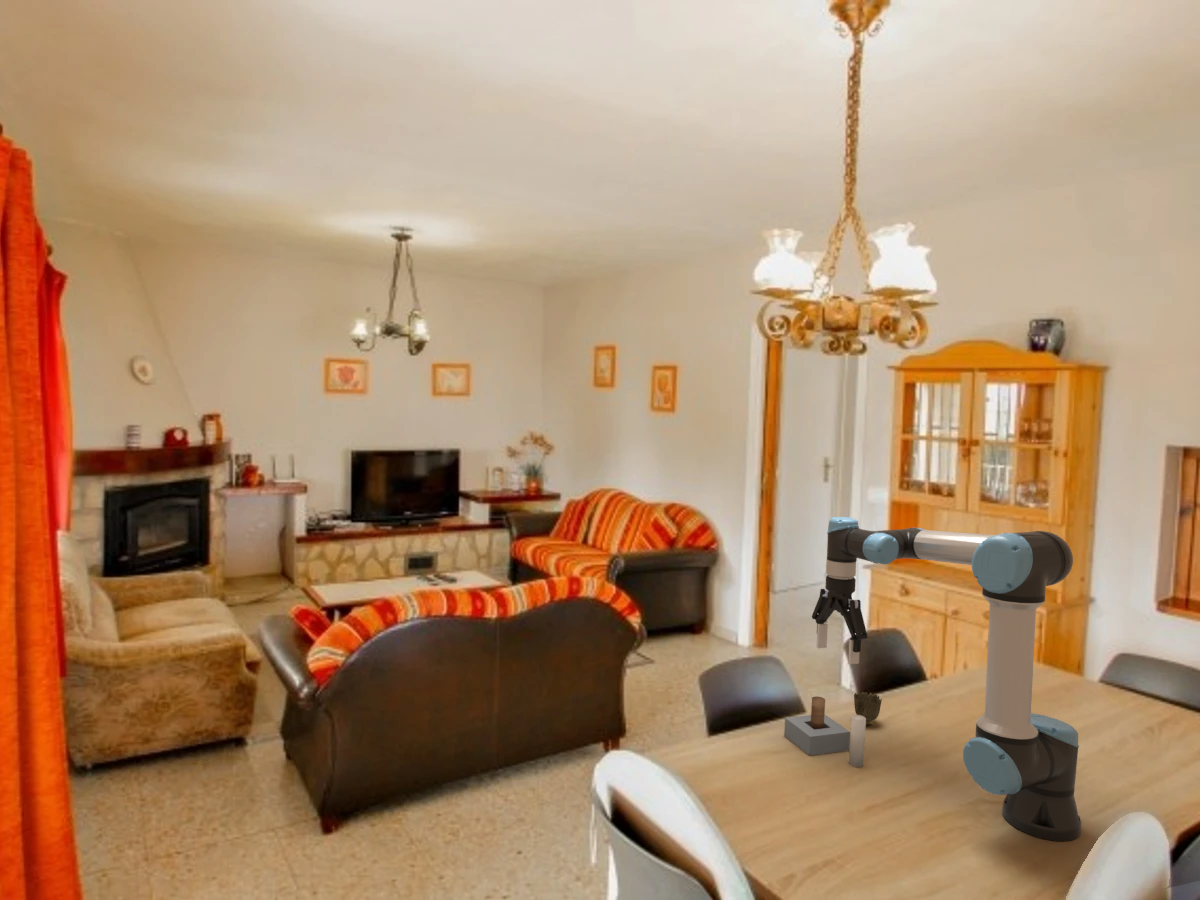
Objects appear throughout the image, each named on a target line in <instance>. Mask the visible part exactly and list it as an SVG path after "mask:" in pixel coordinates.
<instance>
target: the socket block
mask: <svg viewBox="0 0 1200 900" xmlns="http://www.w3.org/2000/svg"><path fill="white" fill-rule="evenodd" d="M810 726H811V714H809V715H806V714H805V715H797V716H790V717H788V716H787V717H785V718H784V734H783V736H784V737H785V738H786V739H787V740H789V741H790V740H791V741H792V742H791V741H790V742H791V743H792V744H794V745H795V746H796V745H797V746H796V747H798V748H799V749H800V750H801V751H802V752H804V753H805V754H807V755H808V756H811V757H812V756H816V755H817V756H818V755H825V754H832V753H840V752H846V751H847V752H848V751H850V737H851V730H849V729H847V728H845V727H844V726H842V725H841V724H839V723H838V722H837V721H836V720H834V719H832V718H831V717H829V716H828V715H826V714H824V728H823V729H815V730H814V729H813V728H812V727H810Z"/></svg>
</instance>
